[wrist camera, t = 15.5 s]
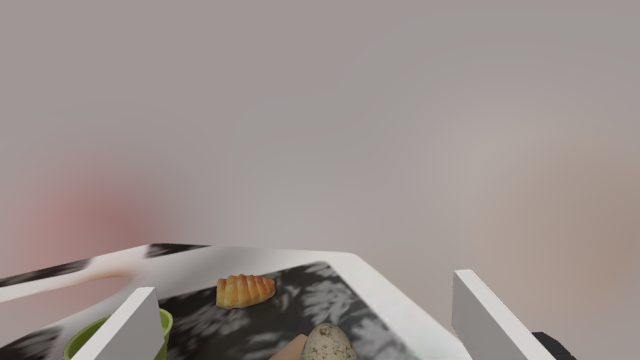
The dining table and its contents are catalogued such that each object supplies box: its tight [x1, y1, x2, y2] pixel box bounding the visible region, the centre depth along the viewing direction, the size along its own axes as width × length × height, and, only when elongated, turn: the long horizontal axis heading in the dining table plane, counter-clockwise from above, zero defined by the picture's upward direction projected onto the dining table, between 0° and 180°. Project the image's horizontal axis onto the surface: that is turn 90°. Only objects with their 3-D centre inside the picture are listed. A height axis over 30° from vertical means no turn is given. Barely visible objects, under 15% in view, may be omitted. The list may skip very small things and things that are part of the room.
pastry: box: [216, 274, 275, 310], centre depth 56 cm, size 9×7×4 cm
